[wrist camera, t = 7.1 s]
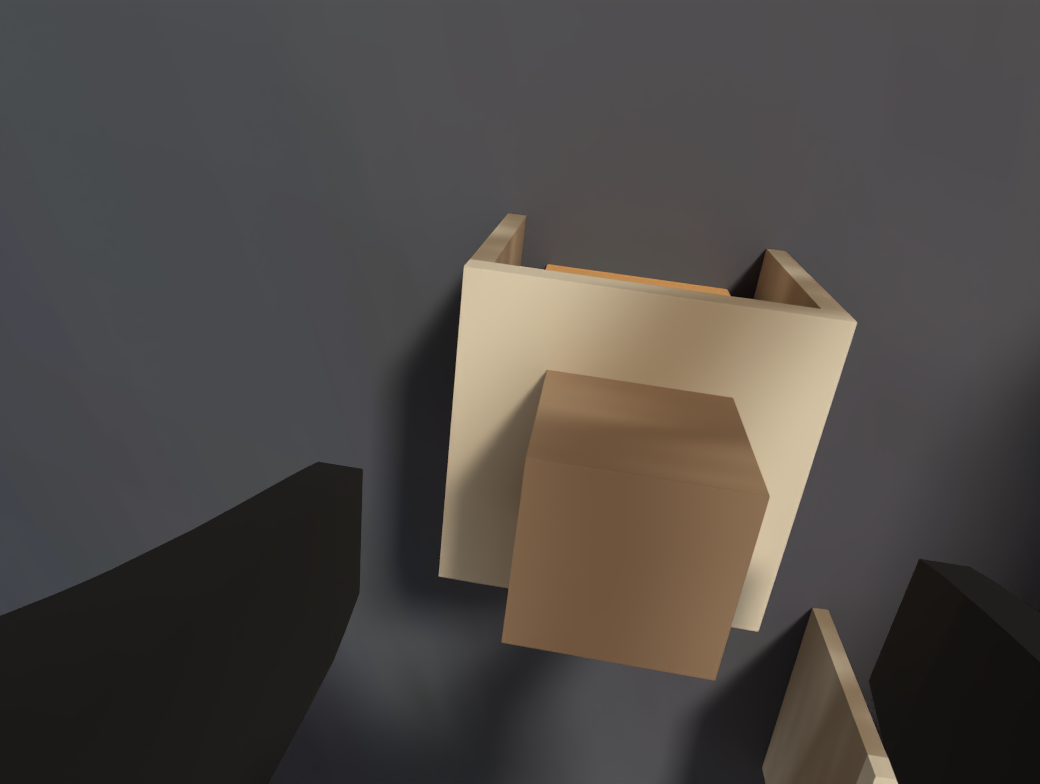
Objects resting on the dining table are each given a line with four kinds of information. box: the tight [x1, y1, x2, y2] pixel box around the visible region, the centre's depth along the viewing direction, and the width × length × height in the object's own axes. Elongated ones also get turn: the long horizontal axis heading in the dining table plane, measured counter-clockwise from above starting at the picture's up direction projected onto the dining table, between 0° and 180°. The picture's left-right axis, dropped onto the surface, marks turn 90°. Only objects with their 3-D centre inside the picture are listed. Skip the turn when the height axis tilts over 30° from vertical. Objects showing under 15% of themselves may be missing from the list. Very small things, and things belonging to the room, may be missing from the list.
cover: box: [439, 213, 857, 680], centre depth 13 cm, size 6×6×8 cm
